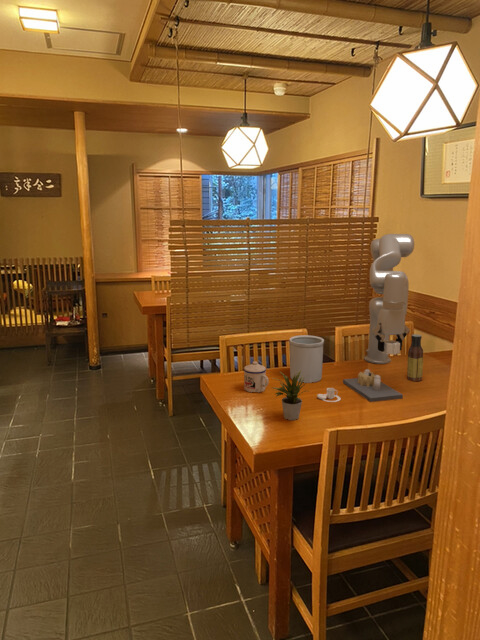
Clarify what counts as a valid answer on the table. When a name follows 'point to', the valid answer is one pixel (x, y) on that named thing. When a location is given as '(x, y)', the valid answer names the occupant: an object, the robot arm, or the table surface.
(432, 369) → the table surface
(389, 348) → the gear
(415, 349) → the sauce bottle
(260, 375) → the teacup with lid
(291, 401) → the house plant
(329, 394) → the teacup and saucer
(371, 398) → the gear board
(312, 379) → the utensil holder
